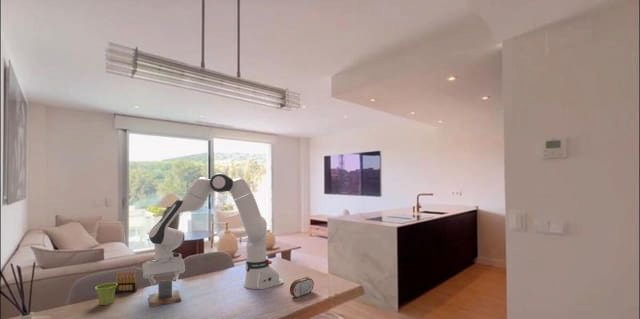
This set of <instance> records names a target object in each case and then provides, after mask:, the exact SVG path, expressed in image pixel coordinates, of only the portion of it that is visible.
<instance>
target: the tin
mask: <svg viewBox="0 0 640 319" xmlns="http://www.w3.org/2000/svg"><path fill="white" fill-rule="evenodd" d="M314 286H315V285H314V280H313V279H312V278H310V277H308V276H305V277H302V278H299V279H296V280H294V281H292V283H291V284H290V287H289V294H290V295H291V296H292V297H294V298H300V297H302V296H305V295H309V294H311V292H312V291H313V289H314Z"/></svg>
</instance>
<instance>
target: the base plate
mask: <svg viewBox="0 0 640 319" xmlns="http://www.w3.org/2000/svg"><path fill="white" fill-rule="evenodd" d="M148 299H149V308H151V307H157V306H161V305H167V304H168V305H169V304H173V303H178V302H182V296H181V294H180V292H179V289H176V290H172V297H170V298H164V299H159V298H158V292H156V293H151V294H148Z"/></svg>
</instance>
